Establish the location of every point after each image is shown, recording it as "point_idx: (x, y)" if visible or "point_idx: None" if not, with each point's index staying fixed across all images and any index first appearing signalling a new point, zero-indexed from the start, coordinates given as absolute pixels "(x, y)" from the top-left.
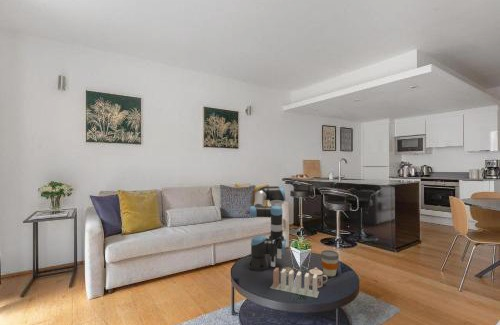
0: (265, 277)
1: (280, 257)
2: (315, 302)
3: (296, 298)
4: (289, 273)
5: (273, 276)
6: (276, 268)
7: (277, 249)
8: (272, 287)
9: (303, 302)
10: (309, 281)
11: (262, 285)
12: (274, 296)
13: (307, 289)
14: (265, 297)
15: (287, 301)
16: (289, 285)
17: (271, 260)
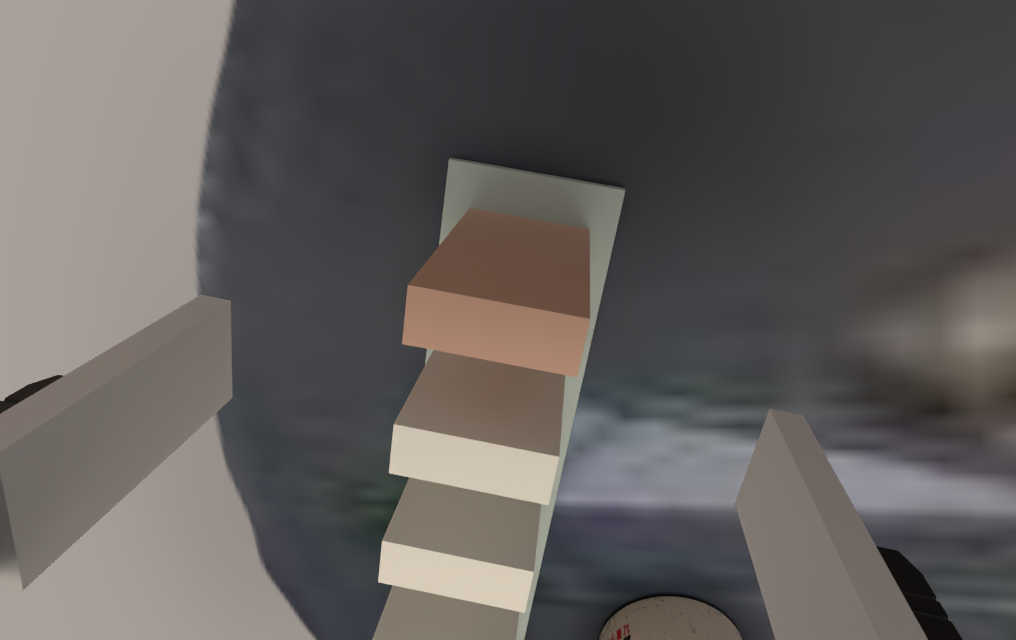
0: (825, 17)
1: (747, 518)
2: (327, 612)
3: (334, 468)
4: (387, 554)
5: (433, 253)
6: (540, 333)
7: (870, 638)
8: (471, 195)
9: (287, 524)
10: (656, 631)
11: (525, 26)
12: (287, 244)
13: None
14: (222, 138)
15: (243, 388)
16: None
17: (12, 401)
